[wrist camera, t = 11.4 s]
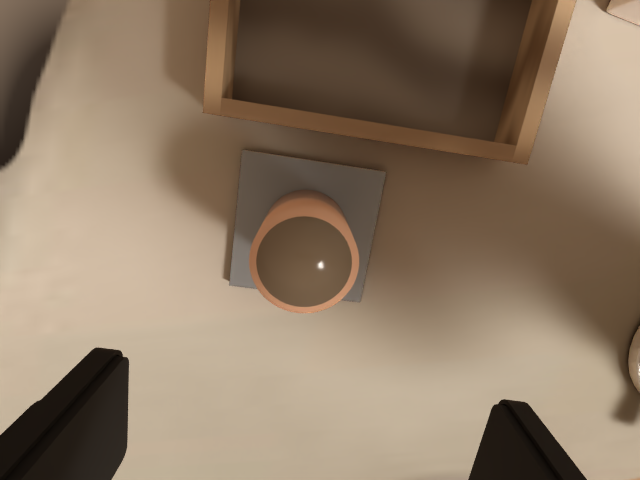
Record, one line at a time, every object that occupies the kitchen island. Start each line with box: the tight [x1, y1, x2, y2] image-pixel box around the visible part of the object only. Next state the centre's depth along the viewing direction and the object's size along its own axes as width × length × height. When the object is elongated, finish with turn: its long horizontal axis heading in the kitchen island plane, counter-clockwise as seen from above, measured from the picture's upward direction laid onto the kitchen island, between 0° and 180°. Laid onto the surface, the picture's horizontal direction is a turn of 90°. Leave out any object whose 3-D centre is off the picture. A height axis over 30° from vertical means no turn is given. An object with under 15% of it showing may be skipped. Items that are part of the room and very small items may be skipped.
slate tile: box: [229, 150, 386, 302], centre depth 28 cm, size 10×10×1 cm
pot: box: [249, 190, 359, 313], centre depth 24 cm, size 6×6×7 cm
